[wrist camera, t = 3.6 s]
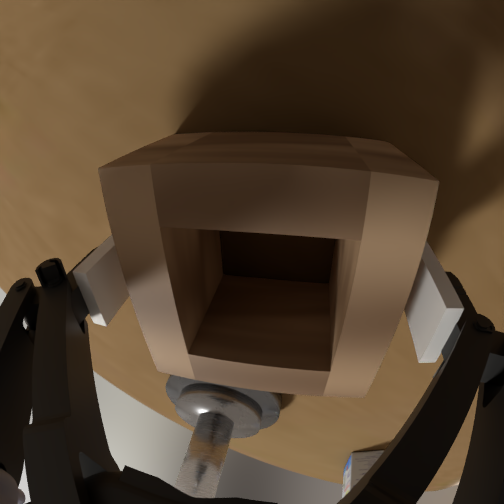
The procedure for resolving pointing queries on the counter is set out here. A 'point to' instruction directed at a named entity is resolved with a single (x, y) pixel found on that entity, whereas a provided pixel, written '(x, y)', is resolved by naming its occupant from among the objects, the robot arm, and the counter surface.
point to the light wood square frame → (271, 222)
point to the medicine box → (358, 468)
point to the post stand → (216, 426)
